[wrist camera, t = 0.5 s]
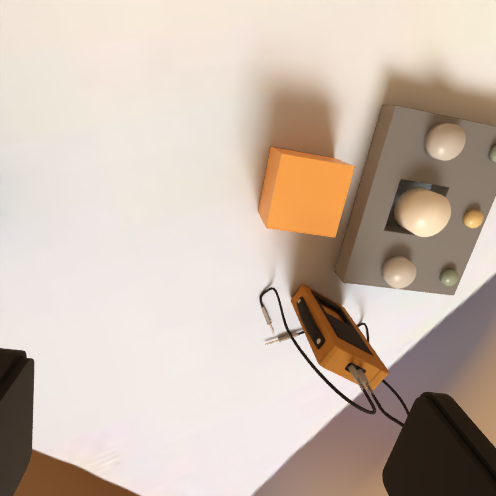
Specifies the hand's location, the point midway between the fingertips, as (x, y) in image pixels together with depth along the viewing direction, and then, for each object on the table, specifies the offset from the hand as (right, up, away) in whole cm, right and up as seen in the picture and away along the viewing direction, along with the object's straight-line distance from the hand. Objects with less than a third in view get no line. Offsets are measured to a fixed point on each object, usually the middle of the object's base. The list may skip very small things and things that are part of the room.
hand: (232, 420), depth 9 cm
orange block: (+6, +11, +33) cm, 35 cm away
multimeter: (+7, -6, +40) cm, 41 cm away
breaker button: (+19, +9, +33) cm, 39 cm away
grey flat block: (+20, +9, +35) cm, 42 cm away
